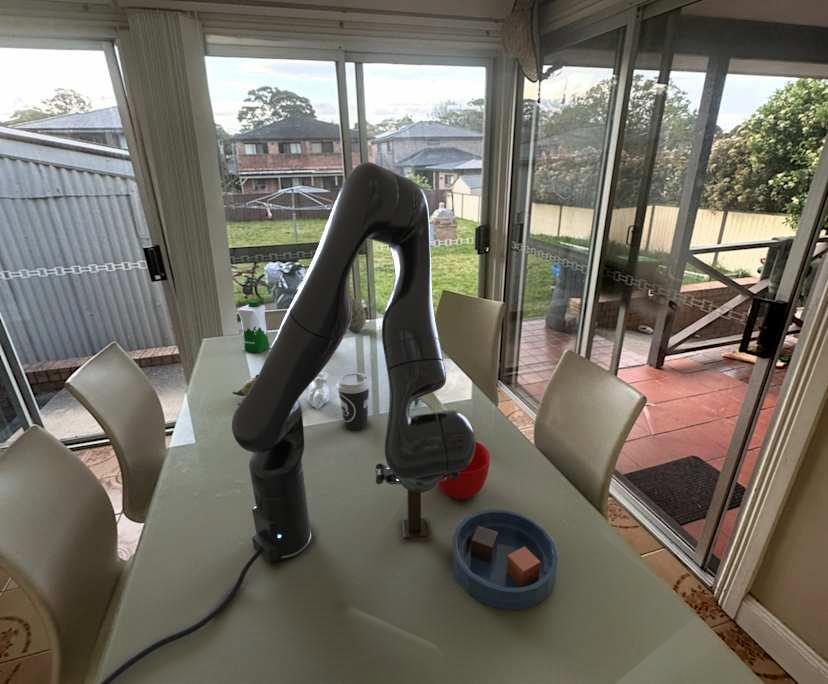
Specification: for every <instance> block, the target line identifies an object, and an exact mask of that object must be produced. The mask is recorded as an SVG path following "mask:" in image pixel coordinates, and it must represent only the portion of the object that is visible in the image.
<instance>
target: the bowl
mask: <svg viewBox="0 0 828 684" xmlns="http://www.w3.org/2000/svg"><path fill="white" fill-rule="evenodd" d="M478 526H481V527H484V528H487V529H490V530H493V531H496V532H498V541H497V549H496V552H495V555H494V558H493V560H492V563H488V562H485V561H483V560H480V559H477V558H474V557H471V542H472V538H473V536H474V534H475V531H476V529H477V527H478ZM524 546H525V547H526V548H527V549H528V550H529V551H530V552H531V553H532V554H533V555H534V556H535V557H536V558H537V559H538V560H539V561H540V570H539V578H538V579H537V580H535V581H534V582H532V583H530V584H528V585H527V586H525V587H520V586H519V585H518V584H517V583H516V582H515V581H514V580H513V578H512V577H511V576H510V575H509V574H508V573H507V572H506V571H507V560H508V555H509V554H511V553H513V552H515V551H517V550H519V549H521V548H522V547H524ZM451 547H452V549H451V567H452V570H453V572H454V575H455V578H456V581H457V582H458V583H459V584H460V585H461V587H462V588H463V589H464V590H465V592H466V593H467V594H468V595H470V597H471V596H472V597H473V598H474V599H475V600H477V601H479V602H480V603H481V604H482V605H483V604H484V605H487V606H489V607H492V608H495V609H498V610H502V611H503V610H505V611H521V610H526V609H530V608H533V607H536V606H537V605H538V604H540V603H541V602H543V601H545V600H546V599H547V598H548V597H549V595H550V593H551V592H552V590H553V588H554V587H555V581H556V575H557V568H558V562H559V561H558V560H559V554H558V551H557V550H558V549H557V546H556V544H555V541H554V540H553V538H552V537H551V536H550V534H549V533H548V531H547V530H546V529H545V528H543V527H542V526H541V525H540V524H539V523H538V522H537V521H535V520H533V519H532V518H529V517H528V516H526V515H524V514H522V513H520V512H515V511H512V510H508V509H495V508H494V509H493V508H491V509H483V510H480V511H477V512H474V513H472V514H470V515H467V516H466V517H465V518H464V519H463V520H462V521H461V522H460V523H459V524H458V525H457V526H456V528H455V531H454V533H453V535H452V545H451Z"/></svg>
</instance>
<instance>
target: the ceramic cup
mask: <svg viewBox="0 0 828 684" xmlns="http://www.w3.org/2000/svg"><path fill="white" fill-rule="evenodd" d="M490 461H491V456H490V452H489V451H488V449H487V448H486V447H485V446H484V445H483V444H481V443H480V442H478V441H476V447H475V453H474V456H473V459H472V461H471V462H470V464H469V465H468V466H467V467H466V468H465V469H463V470H460V471H459V472H460V475H459V477H458V478H457V479H455V480H453V479H451V477H450V476H449V477H447V480H445V481H442V480H441V482H439V483H438V484H437V485H436V486H438V488H439V490H441V492H443V494H444V495H446V496H448V498H451V499H453V500H463V501H464V500H467V499H470V498H472V497H473V496H475V495H477V494H478V493H479V492H480V490H481V489H482V488H483V487H484V485H485V483H486V481H487V477H488V474H489V469H490Z"/></svg>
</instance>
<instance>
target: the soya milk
mask: <svg viewBox="0 0 828 684" xmlns="http://www.w3.org/2000/svg"><path fill="white" fill-rule="evenodd" d="M247 302H248V304H246V305H244V306H241V307H240V308H238V309H236V311H237V313H238V316H239V318H240V322H241V329H242V335H243V344H244V345H243V346H244V352H250V353H256V354H257V353H261V352H264V351H265V350H266V349H268V348H269V347H270V342H269V336H268V330H267V324H266V305H263V304H260V301H259V299H250V300H248V301H247Z"/></svg>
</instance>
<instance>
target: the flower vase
mask: <svg viewBox="0 0 828 684" xmlns="http://www.w3.org/2000/svg"><path fill="white" fill-rule="evenodd" d="M420 401H421V402H423V404H425V405H426V406H427V408H429V409H430V410H431V411H432V412H438V411H444V410H448V409H447V407H446V406H445V405H444V404H443V403H442V402H441V401H440V399H439V398H438V397H437V394H436V391H435V392H432V393H429V394H427V395H424V396H422V397H420V398H418V399H416V400H415V401H414V402H413V405H414V407H415V408H416V407H417V405H418V404H419V402H420Z"/></svg>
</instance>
